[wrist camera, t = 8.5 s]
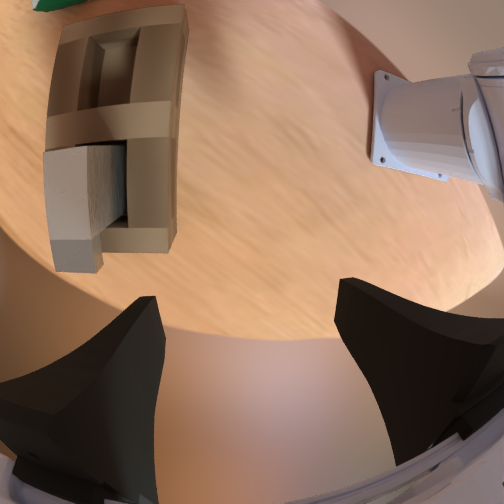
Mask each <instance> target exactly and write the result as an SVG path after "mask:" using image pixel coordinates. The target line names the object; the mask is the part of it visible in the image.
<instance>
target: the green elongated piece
mask: <svg viewBox="0 0 504 504" xmlns="http://www.w3.org/2000/svg"><path fill="white" fill-rule="evenodd" d="M84 1H87V0H32V2H31V5H32V8H33V10H34V11H44V12H49V11H53V10H58V9H62V8H65V7H68V6H72V5H75V4H78V3H81V2H84Z"/></svg>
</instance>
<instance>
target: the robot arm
mask: <svg viewBox="0 0 504 504" xmlns="http://www.w3.org/2000/svg"><path fill="white" fill-rule="evenodd" d="M468 67H469V70H470V72H471V74H467V75H458V76H451V77H444V78H438V79H432V80H426V81H421V82H416V83H412V82H409V81H407V80H405V79H402V78H400V77H398V76H395V75H393V74H390V73H388V72H385V71H382V70H378V71H376V72H375V74H374V113H373V131H372V144H371V155H370V160H371V162H372V164H374V165H378V166H383V167H388V168H392V169H397V170H401V171H406V172H410V173H414V174H418V175H422V176H426V177H430V178H433V179H437V180H441V181H444V182H447V181H448V180H449V176H451V177H455V178H459V179H463V180H467V181H471V182H474V183H478V184H481V185H485V186H487V188H488V190H489V194H490V198H493V199H495V200H498V201H501V202H503V203H504V48H498V49H491V50H486V51H481V52H478V53H474V54H472V57H471V60H470V62H469V63H468ZM384 76H386V78H387V80H386V79H385V78H384ZM381 157H382V158H383V161H382V163H381V161H380V159H381ZM438 174H439V176H438ZM334 322H335V324H336V327H337V329H338V332H339V334H340V336H341V338H342V340H343V342H344V343H345V345H346V347H347V349H348V350H349V352H350V354H351V355H352V357H353V358H354V360H355V362H356V363H357V365H358V366H359V368H360V370H361V371H362V373H363V375H364V376H365V378H366V380H367V381H368V383H369V385H370V387H371V389H372V392H373V394H374V396H375V399H376V401H377V403H378V406H379V409H380V411H381V414H382V417H383V419H384V422H385V425H386V428H387V432H388V435H389V438H390V441H391V446H392V450H393V454H394V458H395V463H396V467H395V468H393V469H390V470H388V471H386V472H384V473H381V474H379V475H377V476H374V477H372V478H369V479H366V480H364V481H361V482H358V483H356V484H353V485H350V486H347V487H344V488H341V489H338V490H334V491H331V492H327V493H324V494H320V495H316V496H312V497H308V498H304V499H299V500H295V501H290V502H285V503H279V504H366V503H368V502H371V501H373V500H376V499H378V498H380V497H383V496H385V495H387V494H389V493H391V492H393V491H396V490H398V489H400V488H402V487H404V486H406V485H407V484H409V483H411V482H413V481H415V480H417V479H419V478H420V477H422V476H424V475H426V474H427V473H429V472H430V473H429V474H428V475H427V476H425V477H424V478H422V479H421V480H419V481H417V482H416V483H414V484H413V485H411V487H410V488H409V489H407V490H406V491H405V492H404V493H402V494H401V495H399V496H398V497H396V498H395V499H393V500H391V501H390V502H388V503H387V504H504V487H503V485H502V482H503V481H504V318H503V319H500V318H498V319H497V318H490V319H489V318H478V317H469V316H463V315H458V314H452V313H448V312H444V311H440V310H436V309H433V308H430V307H426V306H423V305H420V304H418V303H415V302H412V301H410V300H407V299H405V298H402V297H400V296H397V295H395V294H393V293H390V292H388V291H386V290H384V289H381V288H379V287H377V286H375V285H372V284H370V283H368V282H365V281H363V280H360V279H357V278H354V277H352V278H344V279H340V281H339V289H338V297H337V304H336V311H335V317H334ZM165 342H166V337H165V333H164V329H163V326H162V322H161V317H160V313H159V309H158V305H157V300H156V296H143V297H139V298H138V299H137V300H135V301H134V302H133V303H132V304H131V305H130V306H129V307H127V308H126V309H125V310H124V311H123V312H122V313H121V314H120V315H119V316H117V317H116V318H115V319H114V320H113V321H112V322H111V323H110V324H108V325H107V326H106V327H105V328H103V329H102V330H101V331H100V332H99V333H97V334H96V335H95V336H94V337H93V338H91V339H90V340H89V341H87V342H86V343H84V344H83V345H81V346H80V347H79V348H77V349H75V350H74V351H72V352H71V353H69V354H68V355H66V356H64V357H62V358H60V359H59V360H57V361H55V362H53V363H52V364H49V365H47V366H46V367H43V368H41V369H39V370H37V371H35V372H32V373H29V374H27V375H24V376H21V377H18V378H15V379H12V380H9V381H5V382H2V383H0V440H1V441H2V442H3V443H4V444H5V445H6V446H7V447H8V448H9V449H10V450H11V451H13V452H14V453H15V454H16V455H17V459H16V462H14V461H13V460H11V459H10V458H8V457H6V456H5V455H3V454H1V453H0V504H159V502H158V495H157V488H156V480H155V465H154V414H155V407H156V401H157V395H158V390H159V385H160V380H161V375H162V369H163V364H164V358H165Z"/></svg>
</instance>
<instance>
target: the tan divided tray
mask: <svg viewBox="0 0 504 504" xmlns="http://www.w3.org/2000/svg"><path fill="white" fill-rule="evenodd" d="M188 35H189V26H188V20H187V15H186V10H185V4H177V5H164V6H154V7H146V8H138V9H132V10H126V11H121V12H116V13H111V14H106V15H102V16H98V17H94V18H90V19H86V20H83V21H79V22H76V23H73V24H70V25H67V26H64V27H63V31H62V34H61V38H60V42H59V46H58V50H57V54H56V59H55V64H54V69H53V74H52V80H51V87H50V94H49V102H48V111H47V123H46V144H45V152H49V151H55V150H61V149H67V148H74V147H81V146H127V209H128V211H126V212H125V213H124V214H122V215H121V216H120V217H119V218H117V219H116V220H115V221H114V222H112V223H111V224H110V225H109V226H107V227H106V228H105V229H104V230H102V231H101V232H100V240H101V248H102V252H110V253H169V250H170V248H171V245H172V243H173V240H174V238H175V236H176V233H177V218H176V192H177V153H178V132H179V117H180V104H181V92H182V82H183V73H184V64H185V56H186V48H187V41H188Z"/></svg>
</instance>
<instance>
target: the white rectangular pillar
mask: <svg viewBox="0 0 504 504" xmlns="http://www.w3.org/2000/svg"><path fill="white" fill-rule="evenodd" d="M43 169H44V192H45V204H46V215H47V223H48V231H49V237H50V244H51V250H52V255H53V260H54V265H55V270H56V272H75V273H97V272H98V271H99V270H100V268H101V267H102V266H103V265H104V263H103V256H102V248H101V240H100V232H101V231H102V230H104V229H105V228H106V227H107V226H109V225H110V224H111V223H112V222H114V221H115V220H116V219H117V218H119V217H120V216H121V215H122V214H124V213H125V212H126V211H128V209H127V146H81V147H74V148H67V149H61V150H55V151H49V152H44V153H43Z"/></svg>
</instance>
